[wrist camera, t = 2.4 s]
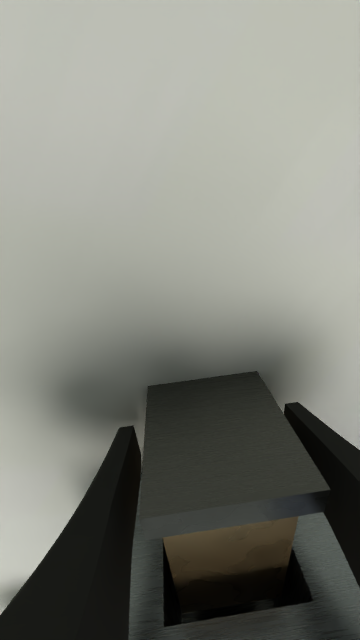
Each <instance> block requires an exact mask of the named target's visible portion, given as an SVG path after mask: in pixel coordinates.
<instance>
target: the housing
mask: <svg viewBox="0 0 360 640" xmlns="http://www.w3.org/2000/svg"><path fill="white" fill-rule="evenodd" d="M141 483H142V474H141V479H140V488H139V497H138V505H137V514H136V522H135V530H134V539H133V549H132V564H131V585H130V610H129V640H360V588H359V586H358V584H357V582H356V579H355V577H354V575H353V573H352V571H351V569H350V566H349V564H348V562H347V560H346V558H345V555H344V553H343V551H342V549H341V547H340V545H339V543H338V541H337V539H336V537H335V535H334V532H333V530H332V528H331V526H330V524H329V522H328V520H327V519H326V517H325V515H324V513H323V512H322V513H315V514H309V515H303V516H299V517H298V521H297V526H296V530H295V535H294V540H293V544H292V549H291V553H290V558H289V563H288V567H287V572H286V576H285V581H284V586H283V590H282V595H281V597H278V598H272V599H266V600H260V601H254V602H248V603H242V604H236V605H230V606H224V607H218V608H212V609H206V610H201V611H195V612H189V613H183V614H182V610H181V606H180V602H179V599H178V595H177V591H176V588H175V584H174V580H173V576H172V573H171V569H170V565H169V562H168V558H167V554H166V550H165V547H164V543H163V539H162V538H157V539H150V540H146V539H145V536H144V533H143V530H142V527H141V524H140V521H139V513H140V498H141Z"/></svg>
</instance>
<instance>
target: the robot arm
mask: <svg viewBox="0 0 360 640" xmlns="http://www.w3.org/2000/svg"><path fill="white" fill-rule="evenodd" d="M284 416H285V417H286V419H287V420H288V422H289V424H290V425H291V427H292V428H293V430H294V432H295V433H296V435H297V436H298V438H299V440H300V441H301V443H302V444H303V446H304V448H305V449H306V451H307V452H308V454H309V456H310V457H311V459H312V460H313V462H314V464H315V465H316V467H317V468H318V470H319V472H320V473H321V475H322V476H323V478H324V480H325V481H326V483H327V484H328V486H329V488H330V489H331V491H330V494H329V497H328V501H327V504H326V507H325V511H324V512H323V513H324V515H325V517H326V519H327V520H328V522H329V524H330V526H331V528H332V530H333V532H334V535H335V537H336V539H337V541H338V543H339V545H340V547H341V549H342V551H343V553H344V555H345V558H346V560H347V562H348V564H349V566H350V569H351V571H352V573H353V575H354V577H355V579H356V582H357V584H358V586H359V588H360V450H359V449H357V448H356V447H355V446H353V445H352V444H350V443H349V442H348V441H346V440H345V439H344V438H343V437H341V436H340V435H339V434H337V433H336V432H335V431H333V430H332V429H331V428H330V427H328V426H327V425H326V424H324V423H323V422H322V421H321V420H319V419H318V418H317V417H316V416H314V415H313V414H312V413H311V412H309V411H308V410H307V409H306V408H304V407H303V406H302V405H301V404H299V403H298V402H295V403H288V404H285V409H284ZM140 479H141V453H140V449H139V445H138V441H137V437H136V434H135V430H134V426H126V427H120V428H119V429H118V431H117V434H116V436H115V438H114V441H113V443H112V445H111V447H110V449H109V451H108V453H107V455H106V457H105V459H104V461H103V463H102V465H101V467H100V469H99V471H98V473H97V475H96V477H95V478H94V480H93V482H92V484H91V485H90V487H89V489H88V491H87V492H86V494H85V496H84V498H83V499H82V501H81V503H80V504H79V506H78V508H77V509H76V511H75V512H74V514H73V516H72V517H71V519H70V520H69V522H68V523H67V525H66V527H65V528H64V530H63V531H62V533H61V534H60V536H59V537H58V538H57V540H56V541H55V543H54V544H53V546H52V547H51V549H50V550H49V551H48V553H47V554H46V556H45V557H44V559H43V560H42V561H41V563H40V564H39V565H38V567H37V568H36V570H35V571H34V572H33V574H32V575H31V576H30V578H29V579H28V580H27V581H26V583H25V584H24V585H23V587H22V588H21V589H20V590H19V592H18V593H17V594H16V596H15V597H14V598H13V599H12V601H11V602H10V603H9V605H8V606H7V607H6V609H5V610H4V611H3V612H2V614H1V615H0V640H129V610H130V585H131V564H132V549H133V539H134V530H135V522H136V514H137V505H138V497H139V488H140Z"/></svg>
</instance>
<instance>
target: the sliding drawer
mask: <svg viewBox="0 0 360 640" xmlns="http://www.w3.org/2000/svg"><path fill="white" fill-rule="evenodd" d="M330 491H331V489H330V488H329V486H328V484H327V483H326V481H325V480H324V478H323V476H322V475H321V473H320V472H319V470H318V468H317V467H316V465H315V464H314V462H313V460H312V459H311V457H310V456H309V454H308V452H307V451H306V449H305V448H304V446H303V444H302V443H301V441H300V440H299V438H298V436H297V435H296V433H295V432H294V430H293V428H292V427H291V425H290V424H289V422H288V420H287V419H286V417H285V416H284V414H283V412H282V411H281V409H280V408H279V406H278V404H277V403H276V401H275V400H274V398H273V396H272V395H271V393H270V392H269V390H268V388H267V387H266V385H265V384H264V382H263V380H262V379H261V377H260V376H259V374H258V372H257V371H255V372H248V373H241V374H233V375H226V376H219V377H211V378H204V379H197V380H189V381H182V382H175V383H168V384H160V385H153V386H148V393H147V408H146V423H145V438H144V453H143V468H142V483H141V498H140V513H139V521H140V524H141V527H142V530H143V533H144V536H145V539H146V540H150V539H157V538H162V539H163V543H164V547H165V550H166V554H167V558H168V562H169V565H170V569H171V573H172V576H173V580H174V584H175V588H176V591H177V595H178V599H179V602H180V606H181V610H182V614H183V613H189V612H195V611H201V610H206V609H212V608H218V607H224V606H230V605H236V604H242V603H248V602H254V601H260V600H266V599H272V598H278V597H281V595H282V590H283V586H284V581H285V576H286V572H287V567H288V563H289V558H290V553H291V549H292V544H293V540H294V535H295V530H296V526H297V521H298V517H299V516H303V515H309V514H315V513H322V512H324V511H325V507H326V504H327V501H328V497H329V494H330Z"/></svg>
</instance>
